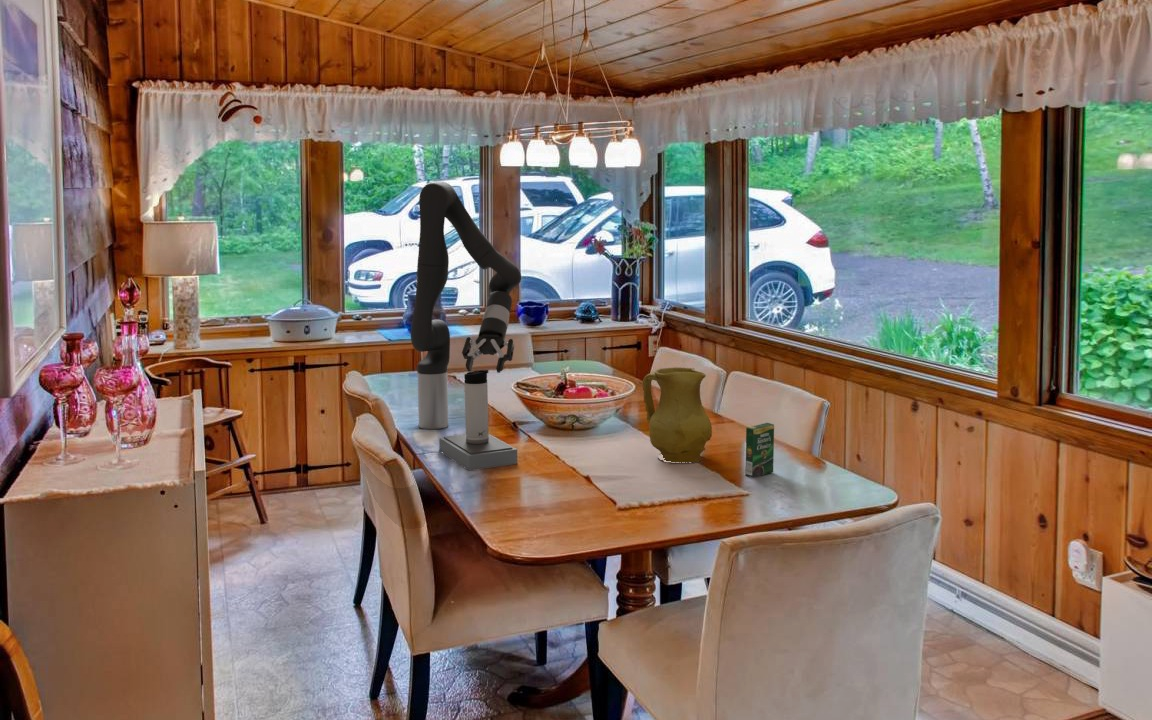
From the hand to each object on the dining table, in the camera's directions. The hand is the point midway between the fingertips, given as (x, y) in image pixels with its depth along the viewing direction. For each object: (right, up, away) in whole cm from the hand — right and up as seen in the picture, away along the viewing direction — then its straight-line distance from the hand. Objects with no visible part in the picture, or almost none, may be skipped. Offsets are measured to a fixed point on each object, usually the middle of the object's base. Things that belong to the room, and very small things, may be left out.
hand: (483, 370), depth 276 cm
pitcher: (+54, -24, -3) cm, 59 cm away
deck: (-1, -24, -3) cm, 24 cm away
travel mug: (-1, -20, -4) cm, 20 cm away
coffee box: (+73, -27, -19) cm, 81 cm away
